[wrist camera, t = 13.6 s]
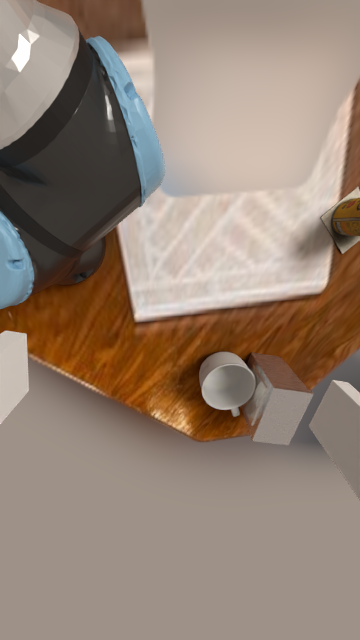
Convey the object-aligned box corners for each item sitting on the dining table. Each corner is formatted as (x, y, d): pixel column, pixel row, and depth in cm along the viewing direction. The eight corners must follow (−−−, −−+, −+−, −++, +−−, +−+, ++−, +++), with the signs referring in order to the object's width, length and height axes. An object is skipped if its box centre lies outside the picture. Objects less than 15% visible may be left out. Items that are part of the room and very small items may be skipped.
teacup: (195, 348, 51) (199, 369, 44) (244, 342, 51) (257, 362, 44) (200, 399, 57) (205, 425, 49) (245, 393, 57) (256, 419, 49)
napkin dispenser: (234, 396, 57) (251, 440, 45) (250, 351, 52) (273, 387, 40) (264, 400, 57) (288, 445, 46) (282, 356, 53) (313, 393, 41)
